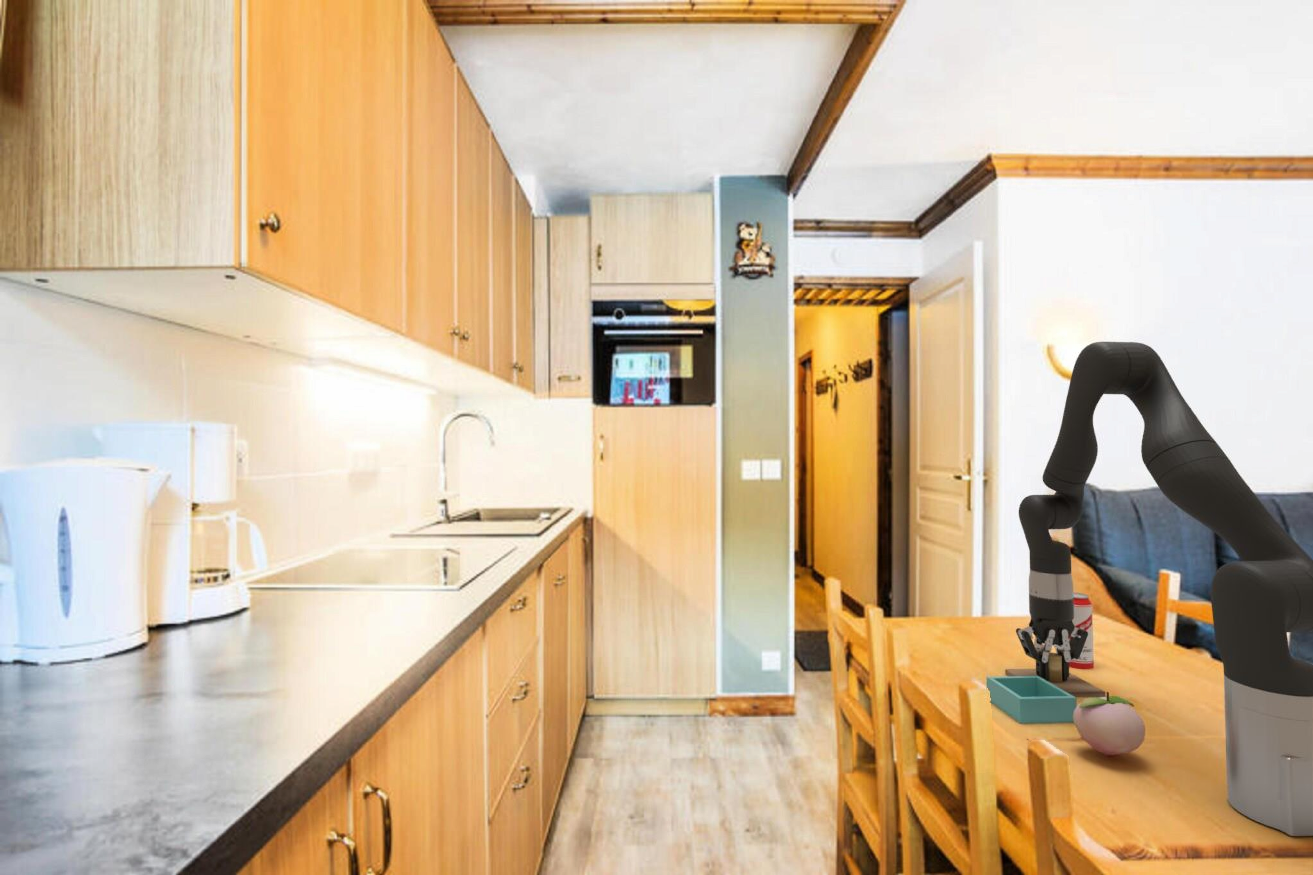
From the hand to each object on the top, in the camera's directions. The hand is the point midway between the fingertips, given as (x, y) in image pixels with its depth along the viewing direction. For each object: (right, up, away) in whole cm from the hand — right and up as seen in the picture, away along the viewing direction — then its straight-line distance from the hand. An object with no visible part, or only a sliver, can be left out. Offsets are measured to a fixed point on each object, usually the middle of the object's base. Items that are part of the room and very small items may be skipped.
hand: (1052, 678), depth 119 cm
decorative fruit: (-8, -2, -26) cm, 28 cm away
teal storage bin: (-12, -2, -11) cm, 16 cm away
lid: (0, -1, 0) cm, 1 cm away
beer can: (+13, -2, +11) cm, 17 cm away
